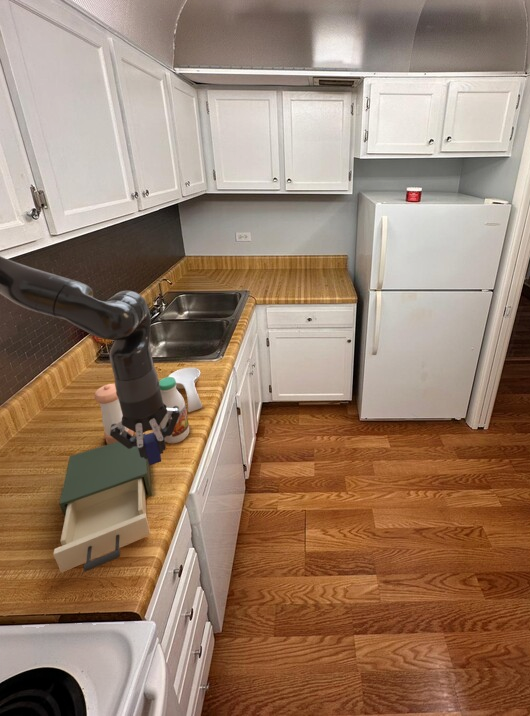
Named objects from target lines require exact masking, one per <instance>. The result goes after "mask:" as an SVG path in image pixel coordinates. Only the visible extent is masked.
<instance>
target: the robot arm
mask: <svg viewBox="0 0 530 716" xmlns="http://www.w3.org/2000/svg"><path fill="white" fill-rule="evenodd" d="M0 295H1V296H2V297H4V298H6V299H7V300H8V301H11V302H12V303H13V304H15V305H18V306H19V307H22V308H24V309H27V310H29V311H33V312H35V313H38V314H43V315H46V316H49V317H53V318H57V319H61V320H65V321H67V322H69V323H71V324H72V325H74V326H75V327H77V328H79V329H80V330H83V331H84V332H87V333H88V334H89V335H92V336H94V337H96V338H99V339H102V340H106V341H113V344H112V346H111V348H110V349H109V362H110V365H111V370H112V373H113V377H114V384H115V387H116V394H117V397H118V399H119V403H120V407H121V410H122V414H123V417H122V421H120V422H119V423H118V424H112V425H111V430H110V435H111V436H112V437H113V438H114V439H116V440H117V441H119V442H120V443H121V444H123V445H124V446H125V447H127V448H128V449H130V448H132V447H134V446H136V447H138V449H139V453H140V457H141V458H143V457H144V459H148V458H147V454H146V449H145V445H144V438H143V434H144V433H146V432H148V431H152V433H153V432H154V434H155V435H156V438H157V443H158V447H159V452H160V454H161V455H162V454H164V451H166V449H167V445H166V441H165V439H164V438H165V437H166V436H170V435H172V432H173V430H174V428H175V425H176V423H177V420H178V418H179V415H180V413H179V407H178V406H174V407H173V408H167V407H166V405H165V404H164V403H163V400H162V395H161V390H160V385H159V381H160V379H159V376H158V372H157V370H156V367H155V363H154V362H155V361H154V359H153V352H152V349H151V311H150V307H149V305H148V303H147V301H146V299H145V298H144V297H143V296H142V295H141V294H140V293H138V292H137V291H133V290H122V291H119V292H117V293H115V294H113V295H112V296H110V298H108V299H107V300H106V301H103V300H99V299H97V298H95V295H94V290H93V289H92V288H91V286H89V285H88V284H86V283H83V282H80V281H78V280H75V279H71V278H67V277H64V276H61V275H58V274H54V273H50V272H47V271H44V270H41V269H37V268H34V267H32V266H31V267H30V266H28V265H25V264H22V263H19V262H16V261H14V260H11V259H8V258H5V257H4V256H1V255H0ZM166 414H167V415H168V421H167V423H166V426H165V428H163V429H162V427H161V425H160V423H161V422H162V420H163V418H164V417H165V415H166ZM124 427H126V428H128V429H130V430H132V431H133V432H134V433H135V436H136V437H135V436H134V435H133V436H132V435H130V434H129V433H128V432H127V431H125V430H124Z"/></svg>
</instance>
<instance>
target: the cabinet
mask: <svg viewBox="0 0 530 716" xmlns="http://www.w3.org/2000/svg"><path fill="white" fill-rule="evenodd" d="M144 435H146V432H144V433H143V438H144ZM134 437H136V435H134ZM151 471H152V470H151V465H150V466H149V462H148V459H144V457H143V458H141V457H140V453H139V449H138V447H136V446H134V447H132V448H130V449H128V448H127V447H125V446H124V445H123V444H121V443H120V442H119V441H118V442H115V443H111V444H104V445H101V446H99V447H95V448H92V449H88V450H85V451H82V452H78V453H75V454H72V455H70V456H69V458H68V462H67V468H66V472H65V476H64V481H63V484H62V485H63V486H62V489H61V490H62V491H61V495H60V499H59V503H58V504H59V506H60V509H61V512H62V515H63V517H64V518H65V516H66V510H67V505H68V503H71V502H74V501H77V500H79V499H82V498H85V497H88V496H91V495H94V494H96V493H99V492H102V491H105V490H108V489H111V488H113V487H116V486H119V485H122V484H125V483H128V482H130V481H133V480H136V479H139V478H142V477H143V480H144V484H145V499H146V498H148V497H151V496H152V495H153V492H152V491H153V489H152V472H151Z"/></svg>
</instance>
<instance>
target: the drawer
mask: <svg viewBox="0 0 530 716" xmlns="http://www.w3.org/2000/svg"><path fill="white" fill-rule="evenodd" d="M146 501H147V500H146V498H145V484H144V480H143V477H142V478H139V479H136V480H133V481H130V482H128V483H125V484H122V485H119V486H116V487H113V488H111V489H108V490H105V491H102V492H99V493H96V494H94V495H91V496H88V497H85V498H82V499H79V500H77V501H74V502H71V503H68V505H67V510H66V516H65V517H64V520H63V521H64V522H63V527H62V531H61V535H60V541H59V542H60V544H61V546H58V547H55V548H54V550H53V557H54V560H55V561H56V564H57V566H58V568H59V571H60V573H61V574H62V573H64V572H67V571H69V570H71V569H74V568H76V567H78V566H80V565H83V572H84V573H87V572H89V571H92V570H93V569H96V568H98V567H101V566H103V565H105V564H107V563H110V562H112V561H114V560H117V559H119V558H120V557H121V548H123V547H125V546H128V545H130V544H133V543H135V542H138V541H139V540H142V539H144V538H147V537H150V536H151V528H150V524H149V519H148V516H147V503H146Z"/></svg>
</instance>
